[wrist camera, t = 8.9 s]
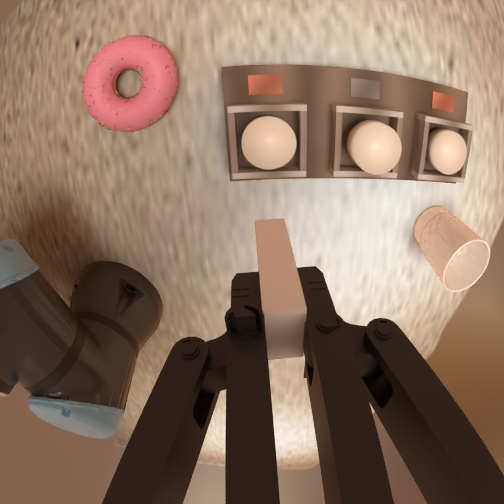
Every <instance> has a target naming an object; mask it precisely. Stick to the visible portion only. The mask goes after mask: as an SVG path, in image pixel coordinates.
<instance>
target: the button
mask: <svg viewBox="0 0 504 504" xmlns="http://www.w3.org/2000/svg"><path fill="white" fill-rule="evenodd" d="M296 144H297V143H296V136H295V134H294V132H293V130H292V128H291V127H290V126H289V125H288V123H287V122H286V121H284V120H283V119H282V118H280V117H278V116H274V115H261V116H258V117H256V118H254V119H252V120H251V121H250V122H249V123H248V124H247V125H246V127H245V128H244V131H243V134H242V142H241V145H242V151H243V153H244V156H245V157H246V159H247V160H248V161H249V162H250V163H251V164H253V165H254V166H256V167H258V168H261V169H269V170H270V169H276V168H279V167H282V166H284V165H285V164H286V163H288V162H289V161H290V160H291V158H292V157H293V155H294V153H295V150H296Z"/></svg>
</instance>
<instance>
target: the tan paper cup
mask: <svg viewBox="0 0 504 504" xmlns="http://www.w3.org/2000/svg"><path fill="white" fill-rule="evenodd" d="M414 237H415V239H416V241H417V243H418V245H419V246H420V248H421V249H422V252H423V253H424V255H425V256H426V258H427V260H428V261H429V263H430V264H431V266H432V268H433V269H434V271H435V272H436V274H437V275H438V277H439V279H440V280H441V282H442V284H443V285H444V287H445V288H446V289H447V290H448V291H451V292H459V291H462V290H465V289H467V288H468V287H470V286H471V285H473V284H474V283H475V282H476V281H477V280H478V279H479V278H480V277H481V275H482V274H483V272H484V271H485V269H486V267H487V265H488V262H489V258H490V248H489V246H488V244H487V243H486V242H485V241H484V240H483V239H482V238H481V237H480V236H479V235H477V234H476V233H475V232H474V231H473V230H472V229H471V228H469V227H468V226H467V225H466V224H465V223H464V222H462V221H461V220H460V219H458V218H457V217H456V216H454V215H452V214H451V213H450V212H449V211H447V210H446V209H445V208H443V207H441V206H433V207H431V208H429V209H427V210H425V211H424V212H423V213H422V214H421V215H420V216H419V217H418V219H417V222H416V224H415V226H414Z"/></svg>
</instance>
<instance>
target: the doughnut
mask: <svg viewBox="0 0 504 504" xmlns="http://www.w3.org/2000/svg"><path fill="white" fill-rule="evenodd" d="M98 51H99V50H98ZM125 69H134V70H136V71H138V74H140V75H141V77H142V79H140V80H142V86H141V89H140V91H139V92H138V93H137V94H136V95H135V96H133V97H131V98H123V97H121V96H120V95H119V94H118V92H117V90H116V79H117V77H118V75H119V74H120V73H121V72H122V71H123V70H125ZM177 70H178V69H177V66H176V62H175V60H174V58H173V56H172V55H171V53H170V52H169V51H168V49H167V48H166V47H165V46H164V45H163V44H162V43H160V42H158V41H157V40H155V39H152V38H150V37H149V36H148V37H146V36H127V37H123V38H120V39H118V40H115V41H113V42H111V43H110V42H109V44H108V45H106V46H104V48H102V49H101V50H100V51H99V52H98V53H97V54H96V55H95V57H94V58H93V59H92V61H91V62H90V64H89V66H88V68H87V70H86V73H85V76H84V77H83V78H84V80H83V98H84V101H85V104H86V107H87V109H88V111H89V114H91V115H92V117H93V118H94V119H95V120H96V121H97V122H99V124H101V126H102V125H103V126H102V127H104V126H105V129H106V127H107V129H108V130H111V129H112V130H114V131H123V132H129V131H132V132H133V131H137V130H140V129H143V128H145V127H148V126H150V125H151V124H153V123H154V122H156V121H157V120H159V119H160V117H162V115H163V114H164V113H165V112H166V111H168V110H167V109H168V108H169V107H170V105H171V103H172V102H173V100H174V97H175V94H176V93H177V92H176V90H177V85H178V73H177ZM83 98H82V99H83Z"/></svg>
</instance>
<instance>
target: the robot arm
mask: <svg viewBox="0 0 504 504" xmlns="http://www.w3.org/2000/svg"><path fill="white" fill-rule="evenodd" d="M255 230H256V242H257V255H258V268H259V272H249V273H237V274H236V275H235V277H234V278H233V280H232V286H231V308H230V309H229V310H228V311H227V312H226V315H225V322H226V327H227V331H226V332H225V333H224V334H223V335H222V336H220V337H218V338H216V339H213V340H210V341H207V342H205V341H204V340H202V339H200V338H198V337H187V338H183V339H181V340H180V341H178V342H177V343H176V344H175V345H174V346H173V348H172V350H171V352H170V354H169V356H168V358H167V360H166V362H165V364H164V366H163V369H162V371H161V373H160V375H159V377H158V379H157V381H156V383H155V385H154V388H153V390H152V392H151V394H150V396H149V398H148V400H147V403H146V405H145V407H144V409H143V411H142V413H141V416H140V418H139V420H138V422H137V424H136V427H135V429H134V431H133V433H132V435H131V438H130V440H129V442H128V444H127V447H126V449H125V451H124V453H123V456H122V458H121V460H120V463H119V465H118V467H117V470H116V472H115V474H114V476H113V479H112V481H111V483H110V486H109V488H108V491H107V493H106V495H105V498H104V500H103V503H102V504H183V501H184V498H185V495H186V492H187V489H188V487H189V484H190V481H191V478H192V474H193V472H194V469H195V466H196V463H197V460H198V457H199V454H200V451H201V448H202V445H203V442H204V439H205V436H206V433H207V430H208V426H209V423H210V420H211V417H212V414H213V411H214V408H215V405H216V402H217V399H218V396H219V393H220V391H222V390H225V389H226V504H280V501H279V488H278V476H277V475H278V474H277V462H276V450H275V438H274V426H273V414H272V402H271V390H270V379H269V367H268V360H270V359H282V358H292V357H301V356H303V352H304V355H305V368H304V378H307V384H308V390H309V396H310V402H311V408H312V414H313V421H314V427H315V434H316V440H317V447H318V454H319V460H320V467H321V474H322V482H323V489H324V497H325V504H394V502H393V498H392V493H391V488H390V484H389V479H388V475H387V470H386V466H385V462H384V457H383V453H382V449H381V446H380V441H379V438H378V433H377V429H376V426H375V422H374V418H373V414H372V411H371V407H370V404H371V405H372V407H373V409H374V410H375V412H376V414H377V416H378V417H379V419H380V421H381V422H382V424H383V426H384V427H385V429H386V431H387V433H388V434H389V436H390V438H391V439H392V441H393V443H394V445H395V447H396V448H397V450H398V452H399V453H400V455H401V457H402V459H403V461H404V462H405V464H406V466H407V467H408V469H409V471H410V473H411V474H412V476H413V478H414V480H415V482H416V484H417V485H418V487H419V489H420V491H421V493H422V494H423V496H424V498H425V500H426V502H427V503H428V504H504V475H503V474H502V472H501V470H500V469H499V467H498V465H497V463H496V462H495V460H494V459H493V457H492V455H491V454H490V452H489V451H488V449H487V447H486V446H485V444H484V443H483V441H482V440H481V438H480V437H479V435H478V434H477V432H476V431H475V429H474V428H473V426H472V425H471V423H470V422H469V420H468V419H467V417H466V416H465V414H464V413H463V412H462V410H461V409H460V407H459V406H458V404H457V403H456V402H455V401H454V399H453V397H452V396H451V395H450V393H449V392H448V390H447V389H446V388H445V386H444V385H443V384H442V382H441V381H440V380H439V378H438V377H437V376H436V374H435V373H434V372H433V370H432V369H431V368H430V366H429V365H428V364H427V362H426V361H425V360H424V358H423V357H422V356H421V354H420V353H419V352H418V351H417V349H416V348H415V347H414V345H413V344H412V343H411V342H410V340H409V339H408V338H407V337H406V335H405V334H404V333H403V332H402V330H401V329H400V328H399V327H398V325H396V324H395V323H394V322H393V321H391V320H388V319H384V318H378V319H374V320H372V321H371V322H369V324H368V325H367V326H359V325H353V324H349V323H347V322H345V321H343V319H342V318H341V317H340V316H339V315H337V313H336V311H335V308H334V305H333V302H332V299H331V296H330V293H329V290H328V287H327V284H326V282H325V278H324V276H323V273H322V272H321V271H320V270H319V269H318V268H317V267H316V266H312V267H301V268H297V267H296V263H295V259H294V255H293V251H292V247H291V244H290V240H289V236H288V232H287V228H286V225H285V221H284V219H272V220H259V221H255ZM161 315H162V302H161V299H160V296H159V294H158V293H157V291H156V289H155V288H154V287H153V285H152V284H151V283H150V282H149V281H148V280H147V279H146V278H144V277H143V276H142V275H141V274H139V273H138V272H136V271H134V270H133V269H131V268H129V267H126V266H124V265H121V264H117V263H113V262H97V263H93V264H91V265H89V266H87V267H86V268H84V269H83V270H82V272H81V273H80V275H79V276H78V278H77V279H76V281H75V283H74V286H73V291H72V297H71V303H70V308H69V307H68V306H67V304H66V303H65V302H64V301H63V300H62V298H61V297H60V296H59V295H58V294H57V292H56V291H55V290H54V289H53V287H52V286H51V285H50V284H49V282H48V281H47V280H46V278H45V277H44V276H43V274H42V273H41V271H40V270H39V265H38V264H37V263H34V261H33V260H32V259H31V258H30V256H29V255H28V254H27V252H26V251H25V250H24V248H23V247H22V246H21V244H20V243H19V242H17V241H16V240H13V239H4V240H2V241H0V396H8V394H9V393H10V392H11V390H12V389H13V387H14V386H15V385H16V383H19V384H20V385H21V386H23V387H24V388H25V389H26V390H27V391H29V393H30V394H31V396H30V397H29V398H28V401H29V402H28V406H29V409H30V410H31V411H32V412H33V413H34V414H35V415H36V416H38V417H39V418H41V419H43V420H44V421H46V422H48V423H50V424H52V425H54V426H57V427H59V428H61V429H64V430H67V431H70V432H72V433H76V434H79V435H83V436H88V437H93V438H109V437H112V436H113V435H115V434H116V432H117V431H118V428H119V425H120V421H121V418H122V415H124V411H125V406H126V402H127V397H128V393H129V389H130V384H131V380H132V376H133V372H134V368H135V364H136V360H137V357H138V353H139V351H140V349H141V348H142V347H143V346H144V344H145V343H146V342H147V340H148V339H149V338H150V336H151V335H152V334H153V333H154V332H155V331H156V329H157V327H158V325H159V322H160V319H161ZM369 402H370V404H369Z"/></svg>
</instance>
